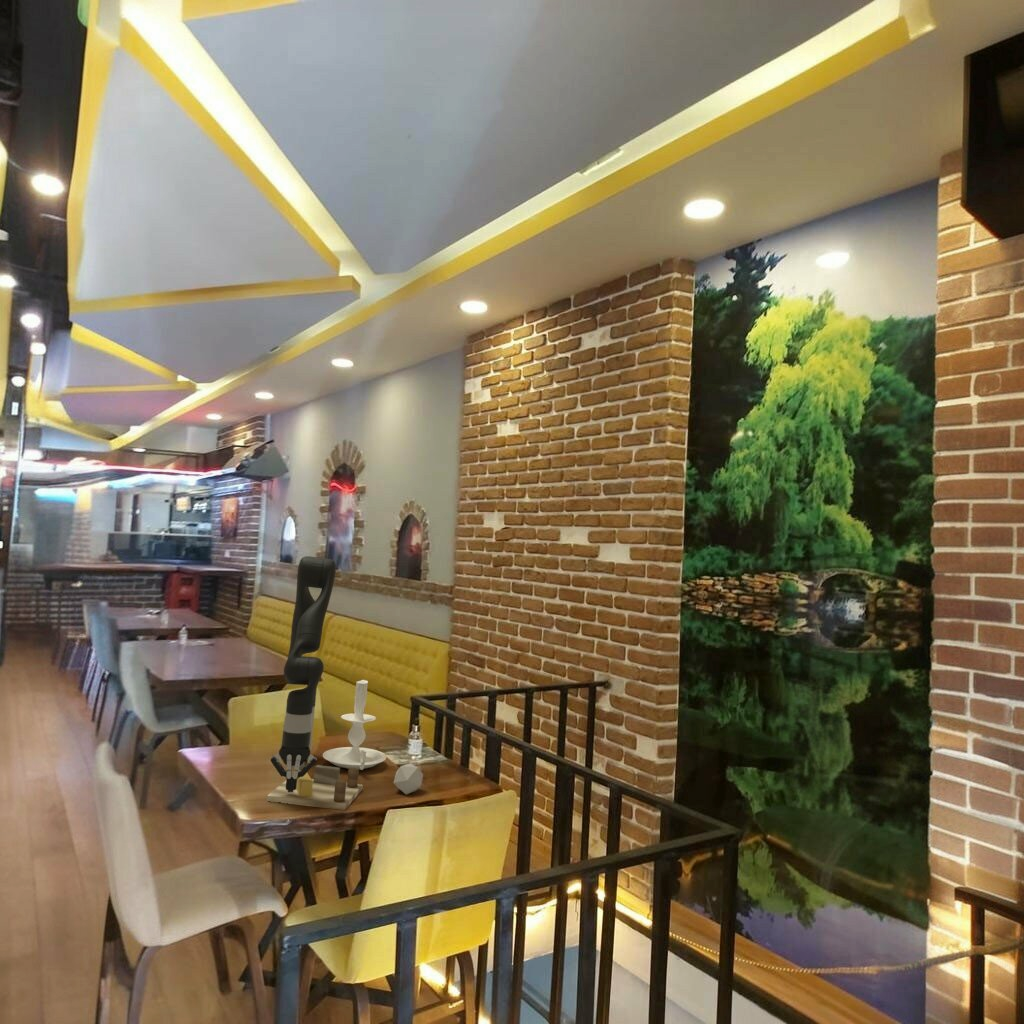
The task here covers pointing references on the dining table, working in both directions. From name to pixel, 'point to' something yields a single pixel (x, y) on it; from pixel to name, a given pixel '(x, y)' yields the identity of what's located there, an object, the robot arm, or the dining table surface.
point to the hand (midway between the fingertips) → (290, 791)
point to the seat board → (323, 790)
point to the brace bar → (304, 784)
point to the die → (408, 778)
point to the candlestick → (356, 737)
